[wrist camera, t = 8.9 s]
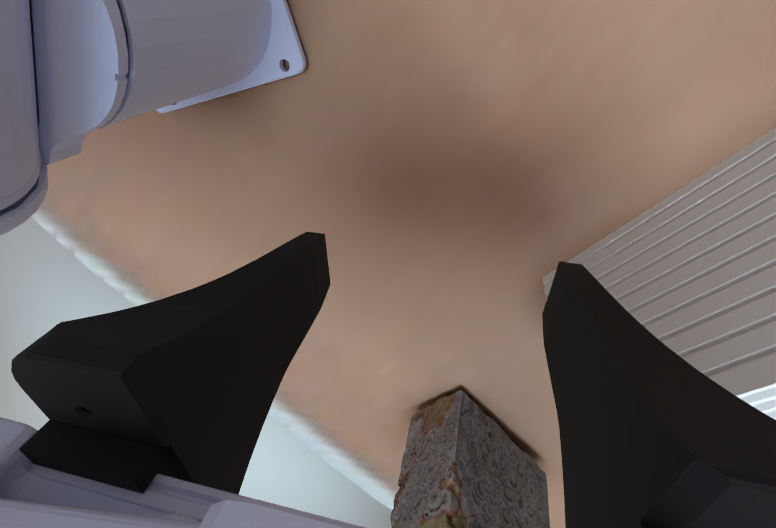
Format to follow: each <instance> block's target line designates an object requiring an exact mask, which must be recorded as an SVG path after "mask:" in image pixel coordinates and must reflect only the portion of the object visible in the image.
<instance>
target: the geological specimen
mask: <svg viewBox="0 0 776 528" xmlns="http://www.w3.org/2000/svg"><path fill="white" fill-rule="evenodd" d="M398 485H399V487H400V488H399V491H398V492H397V494H396V495H395V499H394V509H393V511H392V513H391V524H392V528H550V521H549V507H548V491H547V479H546V473H544V472H543V471H542V470H541V469H540V468H539V466H538V465H537V464H536V463H535V461H534V460H533V458H532V457H531V456H530V455H528V454H526V453H525V452H523V451H521V450H520V448H519V447H518V446H516V445H515V444H514V443H513V442H512V441H511V439H510V438H509V437H508V436H507V434H506V433H505V432H504V431H503V429H501V428H500V427H499V425H498V424H497V423H496V422H495V421H494V420H493V419H492V418H490V417H488V416H487V415H485V414H484V413H483V412H482V410H481V409H480V407H479V406H478V405H477V404H475V403H474V402H473V401H472V400H470V399H469V397H468V396H467V395H466V394H465V393H464V392H463V391H462V390H459V391H456V392H455V393H454V394H452V395H450V396H446V397H442V398H440V399H438V400H437V401H435V403H434V404H431V405H429V406H428V407H426V408H424V409H422V410H421V411H420V412H418V413H417V414H415V415H414V416H413V417H412V419H411V424H410V428H409V433H408V438H407V444H406V450H405V452H404V455H403V460H402V465H401V473H400V477H399V481H398Z"/></svg>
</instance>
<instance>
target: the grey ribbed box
mask: <svg viewBox="0 0 776 528" xmlns="http://www.w3.org/2000/svg"><path fill="white" fill-rule="evenodd" d="M567 263H576V264H582V265H583V266H584V267H585V268H586V269H587V270H588V271H589V272H590V273H591V274H592V275H593V276H594V277H595V278H596V279H597V280H598V282H599V283H600V284H601V285H602V286H603V287H604V288H605V289H606V290H607V291H608V292H609V293H610V294H611V295H612V296H613V297H614V298H615V299H616V300H617V301H618V302H619V303H620V304H621V305H622V306H623V307H624V308H625V309H626V310H627V311H628V312H629V313H630V314H631V315H632V316H633V317H634V318H635V319H636V320H637V321H638V322H639V323H640V324H642V325H643V326H644V327H645V328H646V329H647V330H648V331H649V332H651V333H652V334H653V335H654V336H655V337H656V338H657V339H659V340H660V341H661V342H662V343H663V344H665V345H666V346H667V347H668V348H670V349H671V350H672V351H673V352H675V353H676V354H677V355H679V356H680V357H681V358H682V359H684V360H685V361H686V362H688V363H689V364H690V365H692V366H693V367H694V368H696V369H697V370H699V371H700V372H701V373H703V374H704V375H706V376H707V377H708V378H710V379H711V380H713V381H714V382H716V383H717V384H719V385H720V386H722V387H723V388H725V389H726V390H728V391H729V392H731V393H732V394H734V395H735V396H737V397H738V398H740V399H742V400H743V401H745V402H746V403H748V404H750V405H751V406H753V407H755V408H756V409H758V410H759V411H761V412H763V413H764V414H766V415H768V416H770V417H771V418H773V419H775V420H776V127H775V128H773V129H772V130H770V131H769V132H767V133H766V134H764V135H762V136H761V137H759V138H758V139H756V140H755V141H753V142H752V143H750V144H748V145H747V146H745V147H744V148H742V149H741V150H739V151H738V152H736V153H734V154H733V155H731V156H730V157H728V158H727V159H725V160H724V161H722V162H721V163H719V164H717V165H716V166H714V167H713V168H711V169H710V170H708V171H707V172H705V173H703V174H702V175H700V176H699V177H697V178H696V179H694V180H693V181H691V182H689V183H688V184H686V185H685V186H683V187H682V188H680V189H679V190H677V191H676V192H674V193H672V194H671V195H669V196H668V197H666V198H665V199H663V200H662V201H660V202H658V203H657V204H655V205H654V206H652V207H651V208H649V209H648V210H646V211H644V212H643V213H641V214H640V215H638V216H637V217H635V218H634V219H632V220H630V221H629V222H627V223H626V224H624V225H623V226H621V227H620V228H618V229H617V230H615V231H613V232H612V233H610V234H609V235H607V236H606V237H604V238H603V239H601V240H599V241H598V242H596V243H595V244H593V245H592V246H590V247H589V248H587V249H585V250H584V251H582V252H581V253H579V254H578V255H576V256H575V257H573V258H572V259H570V260H568V261H567ZM556 270H557V268H556V269H554V270H553V271H551V272H550V273H548V274H547V275H545V276H544V277H542V281H543V285H544V286H545V287H544V292H545V296H547V298H548V295H549V292H550V289H551V286H552V282H553V279H554V276H555V273H556ZM547 298H546V301H547Z"/></svg>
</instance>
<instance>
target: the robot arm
mask: <svg viewBox="0 0 776 528" xmlns="http://www.w3.org/2000/svg"><path fill="white" fill-rule="evenodd" d="M284 59H285V60H287V61H288V62H289V65H290V68H289V70H287V69H285V68H284V66H283V61H284ZM306 64H307V63H306V58H305V55H304V52H303V49H302V46H301V43H300V40H299V37H298V34H297V31H296V28H295V25H294V22H293V19H292V16H291V13H290V10H289V7H288V4H287V1H286V0H0V235H3V234H4V233H7V232H9V231H11V230H12V229H14V228H15V227H17V226H19V225H20V224H22V223H24V222H25V221H26V220H27V219H28V218H29V217H31V216H32V215H33V214H34V213H35V212H36V211H37V209H38V208H39V207H40V205H41V204H42V202H43V201H44V198H45V195H46V192H47V189H48V174H47V166H46V165H49V164H51V163H54V162H57V161H59V160H62V159H65V158H67V157H70V156H73V155H75V154H78V153H80V152H81V148H82V142H83V140H84V138H85V137H86V136H87V134H89V133H90V132H92V131H94V130H96V129H100V128H103V127H106V126H109V125H112V124H115V123H118V122H121V121H124V120H127V119H129V118H132V117H135V116H138V115H141V114H144V113H147V112H150V111H153V110H156V111H157V112H159V113H166V112H170V111H173V110H177V109H180V108H183V107H187V106H190V105H194V104H197V103H201V102H204V101H207V100H211V99H214V98H218V97H221V96H225V95H228V94H231V93H235V92H238V91H242V90H245V89H249V88H252V87H255V86H259V85H262V84H266V83H269V82H272V81H276V80H279V79H283V78H286V77H290V76H293V75H296V74H299V73H301V72H303V71H304V70H305V68H306ZM329 286H330V276H329V267H328V259H327V250H326V241H325V234H321V233H313V232H306V233H304V234H302V235H300V236H298V237H296V238H294V239H292V240H290V241H289V242H287V243H285V244H283V245H282V246H280V247H278V248H276V249H275V250H273V251H271V252H269V253H267V254H266V255H264V256H262V257H260V258H259V259H257V260H255V261H253V262H251V263H249V264H247V265H245V266H243V267H241V268H239V269H237V270H235V271H233V272H231V273H229V274H227V275H225V276H223V277H220V278H218V279H216V280H213V281H211V282H209V283H206V284H204V285H201V286H199V287H196V288H193V289H191V290H188V291H185V292H182V293H179V294H176V295H173V296H170V297H167V298H164V299H161V300H158V301H154V302H151V303H147V304H144V305H140V306H136V307H132V308H129V309H124V310H120V311H116V312H112V313H107V314H102V315H97V316H92V317H87V318H82V319H77V320H72V321H66V322H61V323H59V324H58V325H56V326H55V327H54V328H53V329H51V330H50V331H49V332H47V333H46V334H45V335H43V336H42V337H41V338H39V339H38V340H37V341H35V342H34V343H33V344H31V345H30V346H29V347H27V348H26V349H25V350H23V351H22V352H21V353H19V354H18V355H17V356H16V357H15V358H14V359H13V360H12V369H11V371H12V374H13V376H14V378H15V380H16V381H17V382H18V384H19V385H20V387H21V388H22V389H23V390H24V391H25V392H26V394H28V396H29V397H30V398H31V399H32V400H33V401H34V402H35V404H36V405H37V406H38V407H39V408H40V409H41V410H42V412H43V413H44V414H45V415H46V416H47V417H48V418H49V419H50V420H49V421H48V422H47V423H46V424H45V425H44V426H43V427H42V428H41V429H40V430H39V431H37V430H36V429H34V428H33V427H31V426H29V425H27V424H24V423H20V422H16V421H12V420H8V419H5V418H1V417H0V528H364V527H361V526H357V525H353V524H349V523H345V522H342V521H338V520H334V519H330V518H326V517H322V516H319V515H314V514H311V513H307V512H303V511H299V510H295V509H292V508H288V507H284V506H280V505H276V504H273V503H269V502H265V501H261V500H256V499H252V498H249V497H245V496H241V495H238V494H239V491H240V488H241V485H242V482H243V479H244V476H245V473H246V470H247V467H248V464H249V461H250V459H251V456H252V453H253V451H254V448H255V445H256V442H257V440H258V437H259V434H260V432H261V429H262V426H263V424H264V421H265V419H266V417H267V414H268V412H269V409H270V407H271V404H272V402H273V399H274V397H275V395H276V392H277V390H278V388H279V385H280V383H281V381H282V378H283V376H284V374H285V372H286V370H287V368H288V366H289V364H290V362H291V360H292V359H293V357H294V355H295V353H296V352H297V350H298V348H299V346H300V345H301V343H302V341H303V339H304V338H305V336H306V334H307V332H308V331H309V329H310V327H311V325H312V324H313V322H314V320H315V318H316V316H317V315H318V313H319V311H320V309H321V307H322V304H323V302H324V299H325V297H326V294H327V291H328V289H329ZM543 337H544V347H545V352H546V357H547V363H548V368H549V373H550V378H551V383H552V388H553V393H554V398H555V403H556V408H557V414H558V421H559V429H560V441H561V453H562V467H563V482H564V499H565V523H566V528H776V420H775V419H773V418H771V417H770V416H768V415H766V414H764V413H763V412H761V411H759V410H758V409H756V408H755V407H753V406H751V405H750V404H748V403H746V402H745V401H743V400H742V399H740V398H738V397H737V396H735V395H734V394H732V393H731V392H729V391H728V390H726V389H725V388H723V387H722V386H720V385H719V384H717V383H716V382H714V381H713V380H711V379H710V378H708V377H707V376H706V375H704V374H703V373H701V372H700V371H699V370H697V369H696V368H694V367H693V366H692V365H690V364H689V363H688V362H686V361H685V360H684V359H682V358H681V357H680V356H679V355H677V354H676V353H675V352H673V351H672V350H671V349H670V348H668V347H667V346H666V345H665V344H663V343H662V342H661V341H660V340H659V339H657V338H656V337H655V336H654V335H653V334H652V333H651V332H649V331H648V330H647V329H646V328H645V327H644V326H643V325H642V324H640V323H639V322H638V321H637V320H636V319H635V318H634V317H633V316H632V315H631V314H630V313H629V312H628V311H627V310H626V309H625V308H624V307H623V306H622V305H621V304H620V303H619V302H618V301H617V300H616V299H615V298H614V297H613V296H612V295H611V294H610V293H609V292H608V291H607V290H606V289H605V288H604V287H603V286H602V285H601V284H600V283H599V282H598V280H597V279H596V278H595V277H594V276H593V275H592V274H591V273H590V272H589V271H588V270H587V269H586V268H585V267H584V266H583V265H582V264H576V263H567V262H559V263H558V267H557V270H556V273H555V276H554V279H553V282H552V286H551V289H550V292H549V295H548V298H547V301H546V305H545V308H544V311H543Z"/></svg>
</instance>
